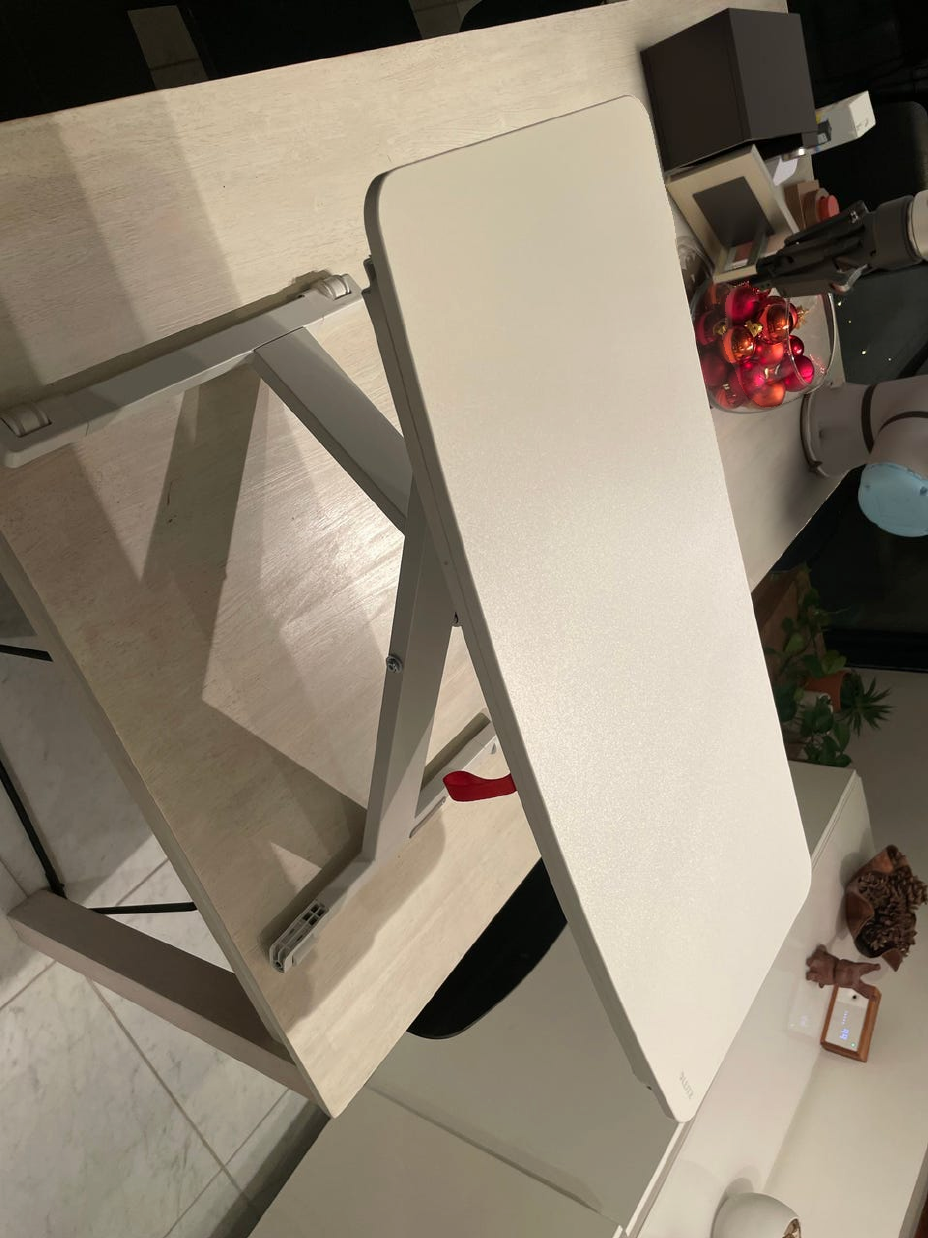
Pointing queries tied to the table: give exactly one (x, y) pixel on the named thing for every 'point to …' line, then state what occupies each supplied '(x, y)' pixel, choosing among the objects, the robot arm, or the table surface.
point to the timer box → (804, 203)
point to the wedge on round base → (781, 169)
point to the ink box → (842, 122)
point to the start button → (828, 207)
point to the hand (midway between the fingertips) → (730, 283)
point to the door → (733, 211)
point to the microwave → (731, 89)
